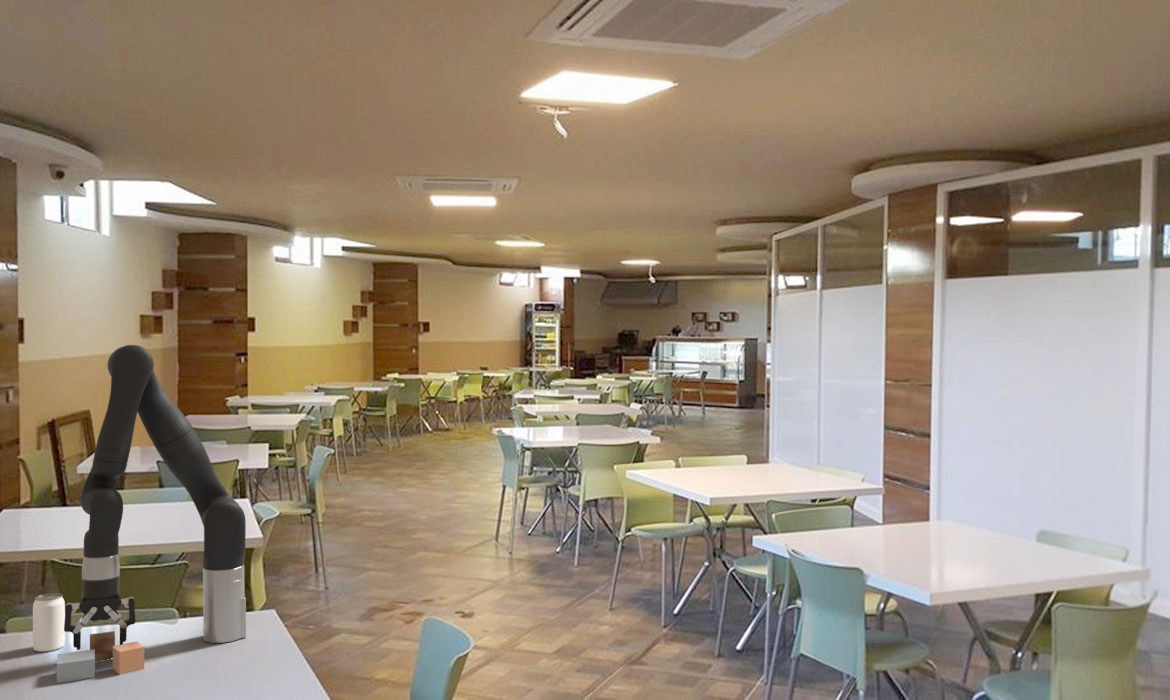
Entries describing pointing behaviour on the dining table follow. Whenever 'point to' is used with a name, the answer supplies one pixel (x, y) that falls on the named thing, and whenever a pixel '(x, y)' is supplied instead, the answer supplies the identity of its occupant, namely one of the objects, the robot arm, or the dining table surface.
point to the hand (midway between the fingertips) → (100, 646)
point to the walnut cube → (102, 645)
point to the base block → (75, 666)
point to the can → (48, 622)
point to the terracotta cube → (128, 657)
